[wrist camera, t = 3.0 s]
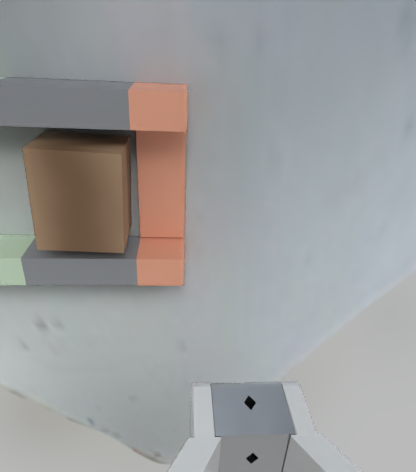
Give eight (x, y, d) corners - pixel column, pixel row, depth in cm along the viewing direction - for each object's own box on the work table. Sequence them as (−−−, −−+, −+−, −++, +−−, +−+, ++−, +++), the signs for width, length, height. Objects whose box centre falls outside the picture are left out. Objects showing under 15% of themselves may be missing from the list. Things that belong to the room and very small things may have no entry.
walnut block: (130, 135, 24) (121, 154, 20) (131, 223, 27) (124, 252, 23) (46, 129, 23) (22, 148, 20) (56, 219, 26) (36, 249, 23)
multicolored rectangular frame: (187, 84, 22) (187, 92, 20) (183, 261, 28) (184, 285, 26) (-185, 69, 21) (-238, 75, 18) (-110, 259, 27) (-141, 284, 24)
